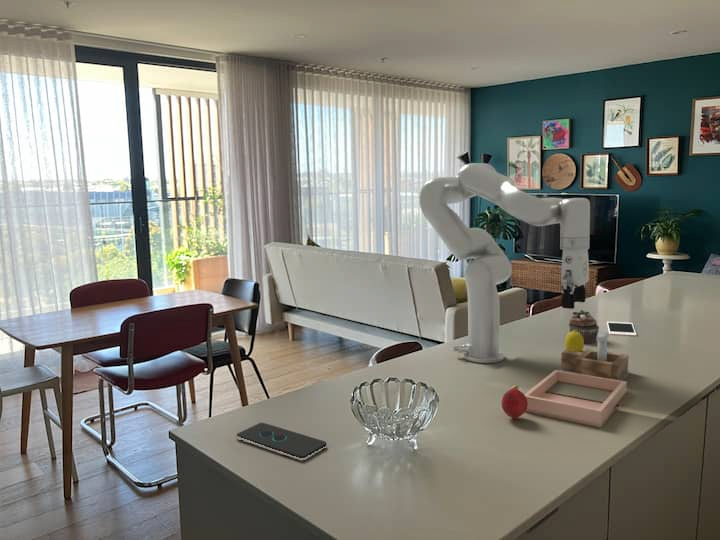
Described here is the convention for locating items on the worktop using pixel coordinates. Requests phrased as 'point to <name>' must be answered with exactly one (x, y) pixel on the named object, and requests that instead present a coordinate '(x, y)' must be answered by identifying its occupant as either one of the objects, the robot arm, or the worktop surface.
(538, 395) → the tray
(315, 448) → the slab with cyan rings
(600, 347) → the stand
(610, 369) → the wooden bar frame
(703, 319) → the worktop surface
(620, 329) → the cell phone
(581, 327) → the cupcake
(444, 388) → the worktop surface
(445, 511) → the worktop surface
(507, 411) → the onion
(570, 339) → the lemon
